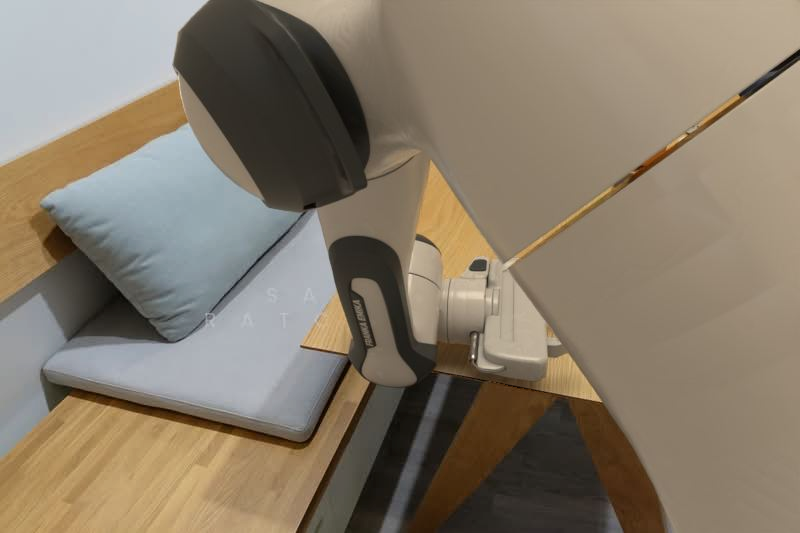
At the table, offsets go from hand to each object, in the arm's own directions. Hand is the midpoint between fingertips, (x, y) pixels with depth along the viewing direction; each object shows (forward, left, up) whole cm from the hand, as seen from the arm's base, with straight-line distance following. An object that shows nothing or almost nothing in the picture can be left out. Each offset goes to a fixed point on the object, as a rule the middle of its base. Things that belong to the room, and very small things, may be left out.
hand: (582, 316), depth 66 cm
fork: (+39, -62, -7) cm, 74 cm away
